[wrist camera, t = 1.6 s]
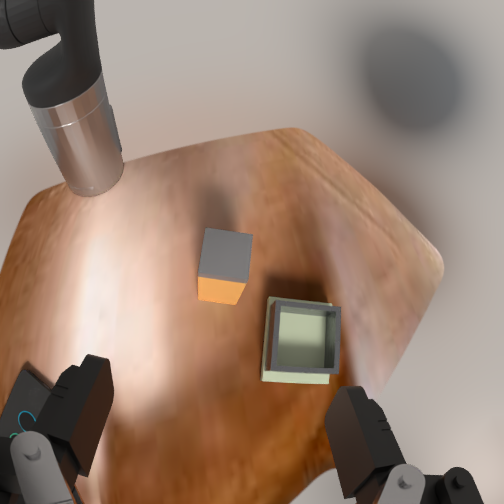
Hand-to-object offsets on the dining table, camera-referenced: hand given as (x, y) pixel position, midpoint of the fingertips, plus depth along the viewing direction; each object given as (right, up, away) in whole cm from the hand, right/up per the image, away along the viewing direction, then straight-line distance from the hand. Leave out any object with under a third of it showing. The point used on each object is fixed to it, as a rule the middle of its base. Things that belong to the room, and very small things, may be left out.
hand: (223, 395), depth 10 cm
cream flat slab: (+6, -6, +26) cm, 28 cm away
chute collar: (+6, -6, +25) cm, 27 cm away
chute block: (-3, +1, +28) cm, 28 cm away
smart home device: (-28, -20, +15) cm, 38 cm away
